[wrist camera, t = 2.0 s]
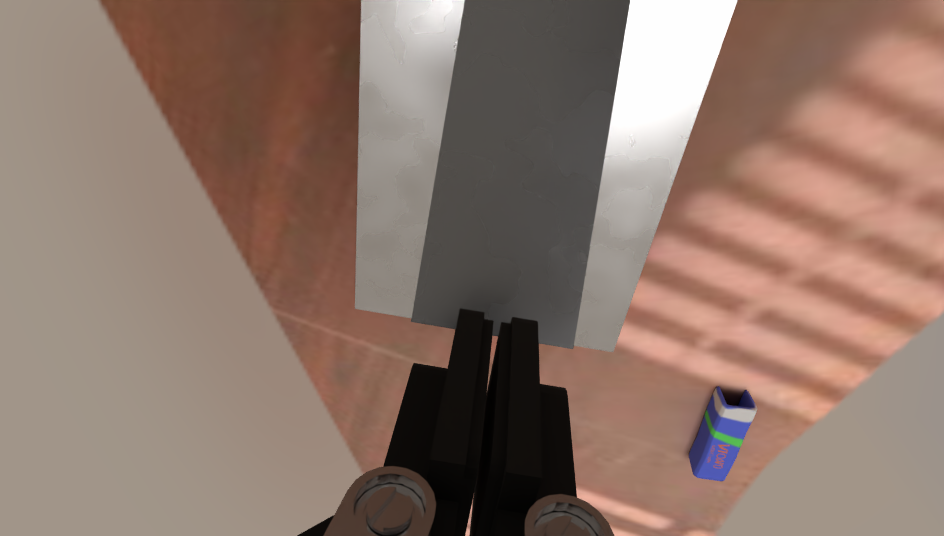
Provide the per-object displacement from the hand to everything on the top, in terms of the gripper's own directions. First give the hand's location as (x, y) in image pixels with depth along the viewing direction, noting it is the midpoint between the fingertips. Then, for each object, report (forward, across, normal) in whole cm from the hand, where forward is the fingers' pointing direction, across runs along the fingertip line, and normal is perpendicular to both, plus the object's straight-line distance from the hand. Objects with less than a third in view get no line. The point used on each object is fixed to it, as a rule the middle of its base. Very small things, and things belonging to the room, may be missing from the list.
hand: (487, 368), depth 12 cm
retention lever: (+9, 0, -4) cm, 10 cm away
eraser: (+16, -15, +15) cm, 27 cm away
